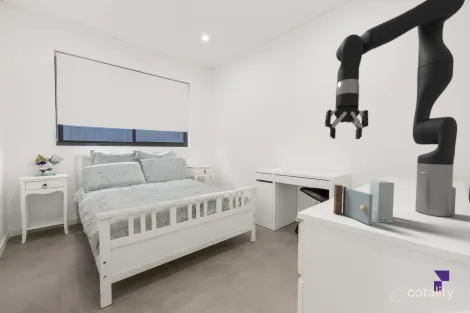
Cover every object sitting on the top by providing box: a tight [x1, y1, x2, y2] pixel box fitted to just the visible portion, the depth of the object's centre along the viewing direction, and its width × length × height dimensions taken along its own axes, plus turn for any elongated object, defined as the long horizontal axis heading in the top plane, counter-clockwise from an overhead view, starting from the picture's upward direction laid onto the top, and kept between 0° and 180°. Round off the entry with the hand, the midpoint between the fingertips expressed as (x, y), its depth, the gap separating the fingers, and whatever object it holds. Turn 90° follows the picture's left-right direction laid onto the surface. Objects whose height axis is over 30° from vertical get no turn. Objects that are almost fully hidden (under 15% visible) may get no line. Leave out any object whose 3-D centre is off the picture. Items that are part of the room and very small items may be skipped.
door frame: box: [333, 184, 347, 216], centre depth 70 cm, size 17×2×10 cm, turn 82°
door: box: [344, 187, 373, 226], centre depth 65 cm, size 10×2×8 cm, turn 8°
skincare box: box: [369, 179, 395, 224], centre depth 66 cm, size 6×4×12 cm
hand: (345, 138), depth 79 cm, fingers open, 8 cm apart
